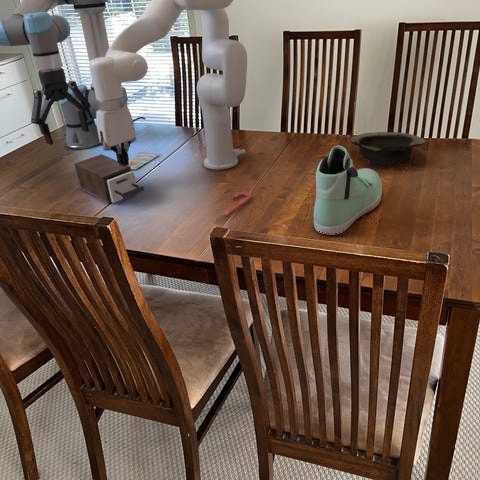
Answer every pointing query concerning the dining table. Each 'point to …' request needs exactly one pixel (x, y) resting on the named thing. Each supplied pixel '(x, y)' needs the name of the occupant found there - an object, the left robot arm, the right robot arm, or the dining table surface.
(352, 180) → the sneaker
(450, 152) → the dining table surface
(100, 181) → the taupe rectangular box
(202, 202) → the dining table surface
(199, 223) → the dining table surface
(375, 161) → the stone bowl
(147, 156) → the baking ingredient package
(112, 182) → the drawer
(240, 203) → the candy cane
